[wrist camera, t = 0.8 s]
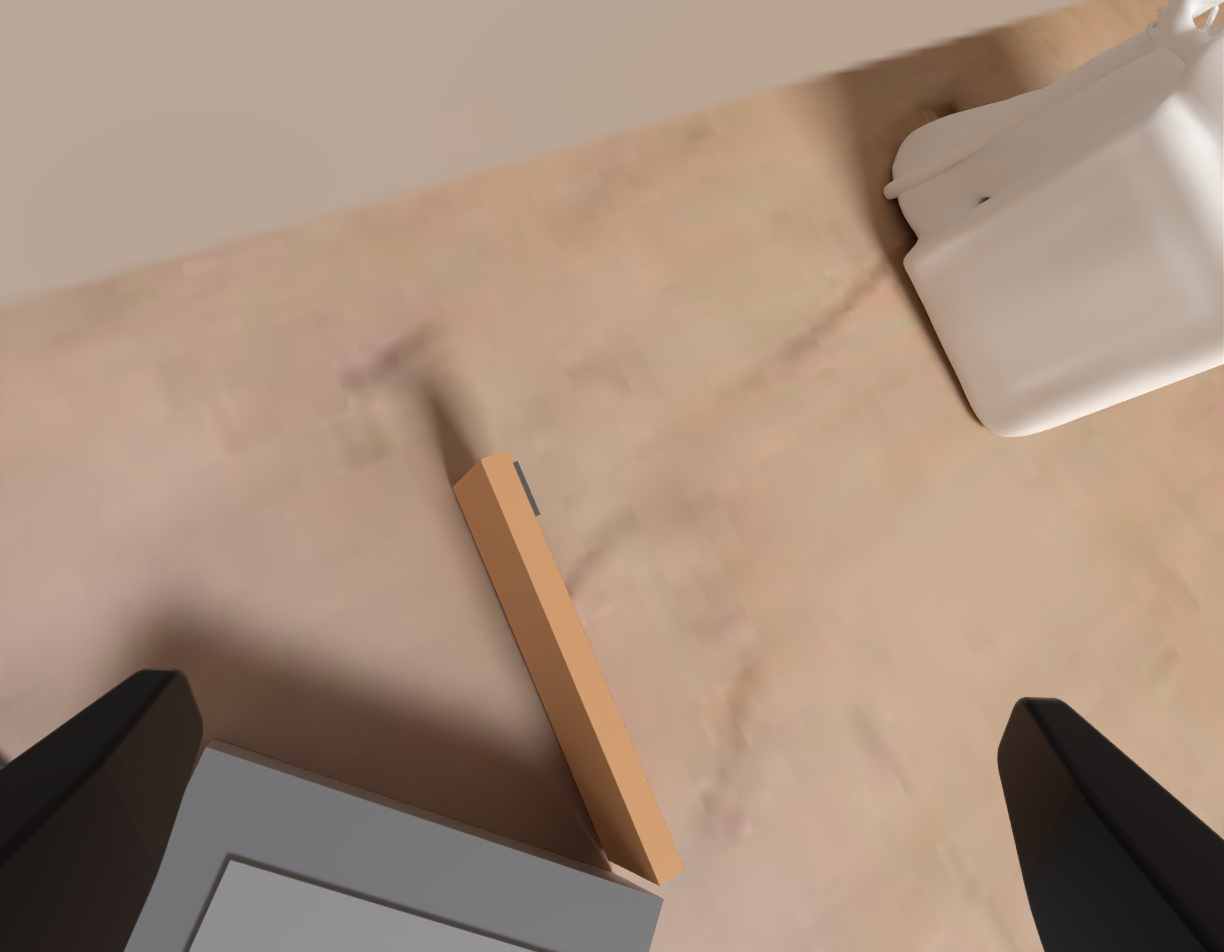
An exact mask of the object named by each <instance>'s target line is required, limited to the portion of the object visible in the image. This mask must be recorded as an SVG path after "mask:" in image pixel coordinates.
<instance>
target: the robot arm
mask: <svg viewBox="0 0 1224 952" xmlns="http://www.w3.org/2000/svg"><path fill="white" fill-rule="evenodd" d="M202 733H203V723H202V717H201V714H200V712H199V709H198V706H197V704H196V701H195V698H194V696H193V693H192V690H191V687H190V685H189V682H188V679H187V677H186V675H185V674H184V673H183V672H182V671H181V670H178V669H167V668H145V669H142V670H139V671H137V672H136V673H134V674H133V675H131V676H130V677H128V678H127V679H126V680H124V681H123V682H121V683H120V684H119V685H117V686H116V687H114V688H113V689H112V690H110V691H109V692H107V693H106V694H105V695H103V696H102V697H100V698H99V699H98V700H96V701H95V702H93V703H92V704H91V705H89V706H88V707H86V708H85V709H84V710H82V711H81V712H79V713H78V714H77V715H75V716H74V717H73V718H71V719H70V720H68V721H67V722H66V723H64V724H63V725H61V726H60V727H59V728H57V729H56V730H54V731H53V732H52V733H50V734H49V735H47V736H46V737H45V738H43V739H42V740H40V741H39V742H38V743H36V744H35V745H33V746H32V747H31V748H29V749H28V750H26V751H25V752H24V753H22V754H21V755H19V756H18V757H17V758H15V759H14V760H12V761H11V762H10V763H8V764H7V765H5V766H4V767H3V768H1V769H0V952H124V950H125V948H126V946H127V944H128V941H129V939H130V937H131V935H132V932H133V930H134V928H135V926H136V923H137V921H138V919H139V916H140V914H141V912H142V910H143V907H144V905H145V903H146V901H147V898H148V896H149V894H150V891H151V889H152V886H153V884H154V882H155V879H156V877H157V874H158V872H159V869H160V866H161V863H162V860H163V857H164V855H165V852H166V849H167V845H168V842H169V839H170V836H171V833H172V830H173V827H174V824H175V821H176V818H177V814H178V811H179V808H180V805H181V802H182V799H183V796H184V793H185V790H186V786H187V783H188V780H189V777H190V774H191V771H192V768H193V765H194V762H195V759H196V755H197V752H198V749H199V746H200V743H201V739H202ZM997 762H998V770H999V774H1000V779H1001V783H1002V788H1003V792H1004V797H1005V801H1006V805H1007V810H1008V814H1009V819H1010V823H1011V828H1012V832H1013V836H1014V841H1015V845H1016V850H1017V854H1018V859H1019V863H1020V867H1021V872H1022V876H1023V881H1024V885H1025V889H1026V893H1027V897H1028V901H1029V905H1030V909H1031V912H1032V915H1033V918H1034V922H1035V925H1036V928H1037V931H1038V934H1039V937H1040V940H1041V943H1042V946H1043V949H1044V952H1224V839H1222V838H1221V837H1220V836H1219V835H1218V834H1217V833H1215V832H1214V831H1213V830H1212V829H1211V828H1210V827H1209V826H1207V825H1206V824H1205V823H1204V822H1203V821H1202V820H1200V819H1199V818H1198V817H1197V816H1196V815H1195V814H1194V813H1192V812H1191V811H1190V810H1189V809H1188V808H1187V807H1185V806H1184V805H1183V804H1182V803H1181V802H1180V801H1179V800H1177V799H1176V798H1175V797H1174V796H1173V795H1172V794H1170V793H1169V792H1168V791H1167V790H1166V789H1165V788H1164V787H1162V786H1161V785H1160V784H1159V783H1158V782H1157V781H1155V780H1154V779H1153V778H1152V777H1151V776H1150V775H1149V774H1147V773H1146V772H1145V771H1144V770H1143V769H1142V768H1140V767H1139V766H1138V765H1137V764H1136V763H1135V762H1134V761H1132V760H1131V759H1130V758H1129V757H1128V756H1127V755H1125V754H1124V753H1123V752H1122V751H1121V750H1120V749H1119V748H1117V747H1116V746H1115V745H1114V744H1113V743H1112V742H1110V741H1109V740H1108V739H1107V738H1106V737H1105V736H1104V735H1102V734H1101V733H1100V732H1099V731H1098V730H1097V729H1095V728H1094V727H1093V726H1092V725H1091V724H1090V723H1089V722H1087V721H1086V720H1085V719H1084V718H1083V717H1082V716H1080V715H1079V714H1078V713H1077V712H1076V711H1075V710H1074V709H1072V708H1071V707H1070V706H1069V705H1068V704H1066V703H1065V702H1063V701H1061V700H1060V699H1056V698H1040V697H1024V698H1021V699H1019V700H1018V701H1017V702H1016V704H1015V706H1014V708H1013V710H1012V713H1011V715H1010V718H1009V721H1008V723H1007V726H1006V728H1005V731H1004V734H1003V736H1002V739H1001V741H1000V744H999V748H998V754H997Z"/></svg>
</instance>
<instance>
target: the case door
mask: <svg viewBox="0 0 1224 952" xmlns="http://www.w3.org/2000/svg"><path fill="white" fill-rule="evenodd" d="M453 490H454V492H455V494H456V497H457V499H458V502H459V504H460V506H461V509H462V511H463V514H464V516H465V518H466V521H467V523H468V526H469V528H470V530H471V533H472V535H473V537H474V540H475V542H476V545H477V547H478V549H479V552H480V554H481V557H482V559H483V561H484V564H485V566H486V569H487V571H488V573H489V576H490V578H491V581H492V583H493V585H494V588H495V590H496V592H497V595H498V597H499V600H500V602H501V604H502V607H503V609H504V612H505V614H506V616H507V619H508V621H509V624H510V626H511V628H512V631H513V633H514V636H515V638H516V640H517V643H518V645H519V647H520V650H521V652H522V655H523V657H524V659H525V662H526V664H527V667H528V669H529V671H530V674H531V676H532V679H533V681H534V683H535V686H536V688H537V691H538V693H539V695H540V698H541V700H542V702H543V705H544V707H545V710H546V712H547V714H548V717H549V719H550V722H551V724H552V726H553V729H554V731H555V734H556V736H557V738H558V741H559V743H560V746H561V748H562V750H563V753H564V755H565V757H566V760H567V762H568V765H569V767H570V769H571V772H572V774H573V777H574V779H575V781H576V784H577V786H578V789H579V791H580V793H581V796H582V798H583V801H584V803H585V805H586V808H587V810H588V812H589V815H590V817H591V820H592V822H593V824H594V827H595V829H596V832H597V834H598V836H599V839H600V841H601V844H602V846H603V848H604V851H605V853H606V855H607V858H608V860H609V861H611V862H613V863H615V864H617V865H619V866H621V867H623V868H625V869H627V870H629V871H631V872H633V873H635V874H637V875H639V876H641V877H643V878H645V879H647V880H649V881H651V882H653V883H655V884H657V885H659V886H661V885H662V884H664V883H665V882H667V881H668V880H670V879H671V878H673V877H674V876H676V875H678V874H679V873H681V872H682V871H684V870H685V869H684V866H683V864H682V861H681V859H680V857H679V854H678V852H677V850H676V847H675V845H674V843H673V840H672V838H671V835H670V833H669V831H668V828H667V826H666V824H665V821H664V819H663V817H662V814H661V812H660V809H659V807H658V805H657V802H656V800H655V798H654V795H653V793H652V791H651V788H650V786H649V784H648V781H647V779H646V776H645V774H644V772H643V769H642V767H641V765H640V762H639V760H638V758H637V755H636V753H635V750H634V748H633V746H632V743H631V741H630V739H629V736H628V734H627V732H626V729H625V727H624V724H623V722H622V720H621V717H620V715H619V713H618V710H617V708H616V706H615V703H614V701H613V698H612V696H611V694H610V691H609V689H608V687H607V684H606V682H605V680H604V677H603V675H602V672H601V670H600V668H599V665H598V663H597V661H596V658H595V656H594V654H593V651H592V649H591V646H590V644H589V642H588V639H587V637H586V635H585V632H584V630H583V628H582V625H581V623H580V620H579V618H578V616H577V613H576V611H575V609H574V606H573V604H572V602H571V599H570V597H569V594H568V592H567V590H566V587H565V585H564V583H563V580H562V578H561V576H560V573H559V571H558V569H557V566H556V564H555V561H554V559H553V557H552V554H551V552H550V550H549V547H548V545H547V543H546V540H545V538H544V535H543V533H542V531H541V528H540V526H539V524H538V521H537V519H536V516H537V515H539V514H540V513H539V510H538V508H537V506H536V503H535V501H534V499H533V496H532V494H531V492H530V489H529V487H528V484H527V482H526V480H525V477H524V475H523V473H522V470H521V468H520V466H519V463H518V461H517V462H514V463H513V462H512V460H511V457H510V455H509V453H508V450H505V451H502V452H500V453H497V454H494V455H491V456H489V457H486V458H483V459H480V460H479V461H478V462H477V463H476V464H475V465H474V466H473V467H472V468H471V469H470V470H469V471H468V472H467V473H466V474H465V475H464V476H463V477H462V478H461V479H460V480H459V481H458V482H457V483H456V484H455V485H454V486H453Z"/></svg>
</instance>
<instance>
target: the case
mask: <svg viewBox="0 0 1224 952" xmlns="http://www.w3.org/2000/svg"><path fill="white" fill-rule="evenodd" d="M662 903H663V899H662V898H661V897H659V896H657V895H655V894H653V893H651V892H649V891H647V890H645V889H643V888H641V887H640V886H638V885H636V884H634V883H632V882H630V881H628V880H626V879H624V878H622V877H620V876H619V875H617V874H615V873H612V872H609V871H607V870H604V869H601V868H598V867H595V866H592V865H589V864H586V863H583V862H580V861H577V860H574V859H571V858H568V857H565V856H562V855H559V854H556V853H553V852H550V851H547V850H544V849H541V848H538V847H535V846H532V845H529V844H526V843H523V842H520V841H517V840H514V839H511V838H508V837H505V836H502V835H499V834H496V833H493V832H490V831H487V830H484V829H481V828H478V827H475V826H472V825H469V824H467V823H464V822H461V821H458V820H455V819H452V818H449V817H446V816H443V815H440V814H437V813H434V812H431V811H428V810H425V809H422V808H419V807H416V806H413V805H410V804H407V803H404V802H401V801H398V800H395V799H392V798H389V797H386V796H383V795H380V794H377V793H374V792H371V791H368V790H365V789H362V788H359V787H356V786H353V785H350V784H347V783H344V782H341V781H338V780H335V779H332V778H329V777H327V776H324V775H321V774H318V773H315V772H312V771H309V770H306V769H303V768H300V767H297V766H294V765H291V764H288V763H285V762H282V761H279V760H276V759H273V758H270V757H267V756H264V755H261V754H258V753H255V752H252V751H249V750H246V749H243V748H240V747H237V746H234V745H231V744H228V743H225V742H222V741H219V740H216V739H213V738H212V739H211V741H210V742H209V743H208V745H207V746H206V748H205V750H204V752H203V754H202V756H201V758H200V760H199V762H198V764H197V766H196V768H195V771H194V773H193V775H192V777H191V779H190V781H189V783H188V785H187V787H186V790H185V793H184V796H183V799H182V802H181V805H180V808H179V811H178V814H177V818H176V821H175V824H174V827H173V830H172V833H171V836H170V839H169V842H168V845H167V849H166V852H165V855H164V857H163V860H162V863H161V866H160V869H159V872H158V874H157V877H156V879H155V882H154V884H153V886H152V889H151V891H150V894H149V896H148V898H147V901H146V903H145V905H144V907H143V910H142V912H141V914H140V916H139V919H138V921H137V923H136V926H135V928H134V930H133V932H132V935H131V937H130V939H129V941H128V944H127V946H126V948H125V950H124V952H649V949H650V945H651V942H652V938H653V935H654V931H655V927H656V924H657V920H658V917H659V913H660V910H661V906H662Z"/></svg>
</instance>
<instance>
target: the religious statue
mask: <svg viewBox="0 0 1224 952" xmlns="http://www.w3.org/2000/svg"><path fill="white" fill-rule="evenodd" d="M1222 2H1224V0H1169V5H1168V6H1161V7H1159V8H1158V20H1159V21H1155V22H1151V23H1150V24H1149V25H1148V26H1147V27H1146V30H1145V31H1144V32H1142V33H1140V34H1138V35H1136V36H1134V37H1132V38H1130V39H1128V40H1126V41H1124V42H1122V43H1120V44H1118V45H1116V46H1114V47H1113V48H1111V49H1109V50H1107V51H1105V52H1103V53H1102V54H1100V55H1098V56H1096V57H1095V58H1093V59H1091V60H1089V61H1088V62H1086V63H1084V64H1082V65H1081V66H1079V67H1078V68H1076V69H1074V70H1073V71H1071V72H1069V73H1068V74H1066V75H1064V76H1063V77H1061V78H1060V79H1058V80H1056V81H1055V82H1053V83H1052V84H1050V85H1048V86H1047V87H1045V88H1042V89H1038V90H1034V91H1031V92H1027V93H1024V94H1021V95H1018V96H1015V97H1012V98H1010V99H1008V100H1004V101H1000V102H996V103H992V104H988V105H984V106H981V107H977V108H973V109H969V110H965V111H962V112H958V113H955V114H951V115H948V116H945V117H942V118H939V119H937V120H935V121H932V122H930V123H928V124H926V125H924V126H922V127H920V128H918V129H916V130H915V131H913V132H912V133H910V134H909V136H908V137H907V138H906V139H905V140H904V141H903V142H902V144H901V146H900V148H899V150H898V152H897V154H896V156H895V160H894V163H893V166H892V173H893V181H892V182H890V183H888V184H887V185H886V186H885V187H884V191H883V194H884V196H885V197H886V198H887V199H889V200H891V199H895V198H897V197H898V201H899V205H900V208H901V210H902V212H903V215H904V217H905V218H906V220H907V222H908V223H909V225H910V227H911V228H912V229H913V231H914V232H915V234H916V236H917V238H918V241H917V243H916V244H915V245H914V247H913V248H912V249H911V250H910V251H909V253H908V254H907V255H906V256H905V258H904V261H903V264H904V268H905V270H906V272H907V273H908V275H909V277H910V279H911V281H912V283H913V285H914V287H915V289H916V292H917V294H918V296H919V297H920V299H921V301H922V303H923V305H924V307H925V310H926V312H927V314H928V316H929V318H930V320H931V323H932V325H933V327H934V329H935V331H936V334H937V336H938V338H939V340H940V342H941V344H942V346H943V348H944V350H945V352H946V354H947V356H948V358H949V360H950V363H951V365H952V367H953V369H954V371H955V373H956V375H957V377H958V379H959V381H960V384H961V386H962V388H963V390H964V393H965V395H966V397H967V399H968V401H969V403H970V405H971V407H972V409H973V411H974V412H975V414H976V416H977V417H978V419H979V420H980V421H981V422H982V424H983V425H984V426H985V427H986V428H987V429H988V430H989V431H990V432H991V433H993V434H995V435H998V436H1003V437H1015V436H1025V435H1030V434H1034V433H1038V432H1041V431H1044V430H1048V429H1051V428H1053V427H1056V426H1059V425H1061V424H1064V423H1067V422H1070V421H1072V420H1075V419H1078V418H1080V417H1083V416H1086V415H1088V414H1091V413H1094V412H1096V411H1099V410H1102V409H1104V408H1107V407H1110V406H1112V405H1115V404H1118V403H1120V402H1123V401H1126V400H1128V399H1131V398H1134V397H1136V396H1139V395H1142V394H1145V393H1147V392H1150V391H1153V390H1155V389H1158V388H1160V387H1163V386H1166V385H1168V384H1171V383H1174V382H1176V381H1179V380H1182V379H1184V378H1187V377H1190V376H1192V375H1195V374H1198V373H1201V372H1203V371H1206V370H1209V369H1211V368H1214V367H1217V366H1219V365H1222V364H1224V24H1223V25H1221V26H1214V27H1211V25H1212V23H1213V21H1214V19H1215V16H1216V14H1217V12H1218V10H1219V4H1220V3H1222ZM1210 8H1211V11H1210V14H1209V16H1208V19H1207V21H1206V24H1205V26H1204V28H1203V29H1198V28H1197V27H1196V26H1195V24H1194V22H1193V20H1194V19H1195V18H1196V17H1198V16H1199V15H1201V14H1202V13H1203V12H1205V11H1207V10H1208V9H1210Z"/></svg>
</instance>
